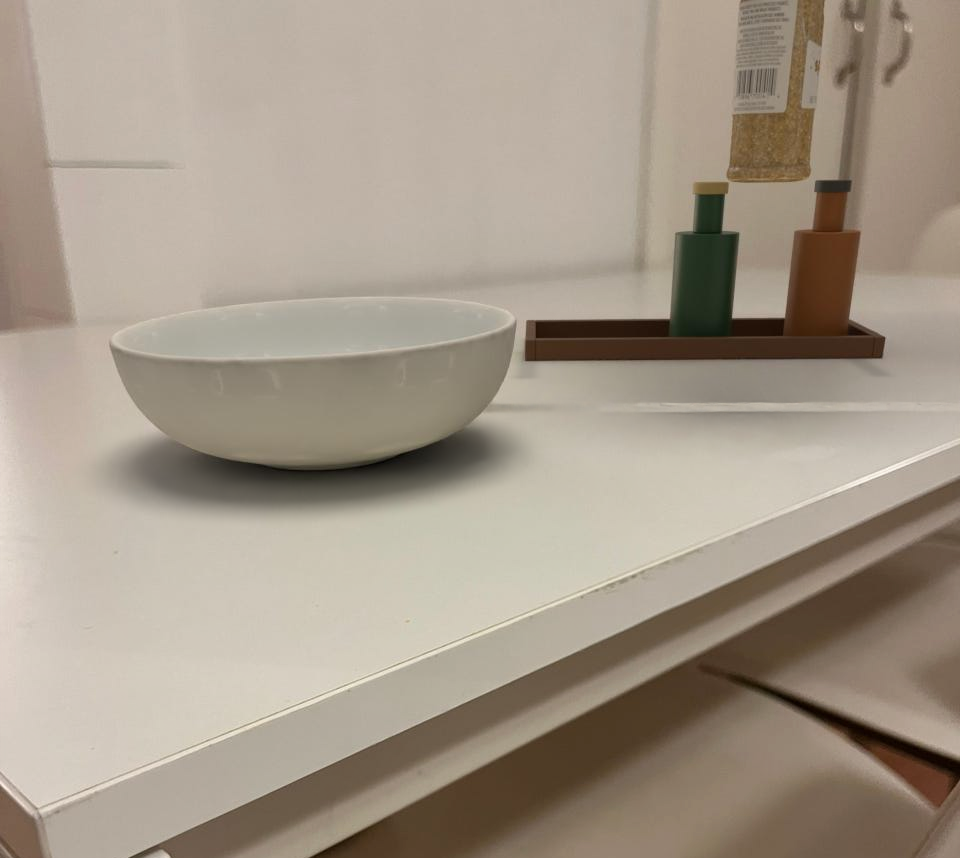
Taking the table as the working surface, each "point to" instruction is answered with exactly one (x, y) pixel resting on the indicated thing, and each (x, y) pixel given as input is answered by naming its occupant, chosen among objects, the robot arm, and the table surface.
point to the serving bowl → (316, 376)
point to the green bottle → (704, 269)
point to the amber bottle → (823, 267)
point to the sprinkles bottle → (775, 89)
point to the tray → (689, 341)
